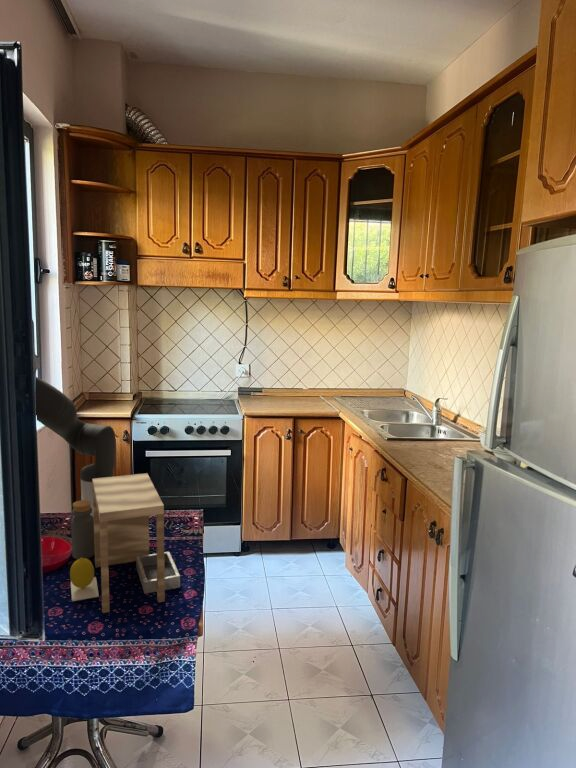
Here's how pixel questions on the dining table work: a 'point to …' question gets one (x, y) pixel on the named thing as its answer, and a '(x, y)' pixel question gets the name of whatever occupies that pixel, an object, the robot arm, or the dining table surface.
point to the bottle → (82, 530)
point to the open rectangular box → (149, 572)
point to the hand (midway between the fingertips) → (33, 573)
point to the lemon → (82, 573)
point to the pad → (85, 591)
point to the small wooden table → (126, 525)
